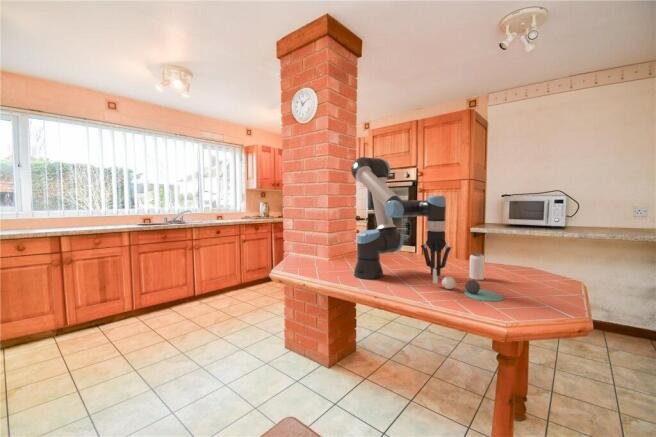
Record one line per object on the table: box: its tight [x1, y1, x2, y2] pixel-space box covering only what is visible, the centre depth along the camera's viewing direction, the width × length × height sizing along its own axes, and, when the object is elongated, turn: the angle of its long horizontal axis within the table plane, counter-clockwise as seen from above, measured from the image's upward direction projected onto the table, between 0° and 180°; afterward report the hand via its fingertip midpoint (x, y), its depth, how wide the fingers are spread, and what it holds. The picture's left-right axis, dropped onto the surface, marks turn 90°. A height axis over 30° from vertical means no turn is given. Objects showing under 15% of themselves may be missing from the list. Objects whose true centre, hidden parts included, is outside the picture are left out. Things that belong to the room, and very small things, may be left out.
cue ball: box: [441, 275, 456, 290], centre depth 119 cm, size 6×6×6 cm
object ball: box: [464, 279, 481, 294], centre depth 113 cm, size 6×6×6 cm
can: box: [469, 253, 486, 281], centre depth 134 cm, size 6×6×12 cm
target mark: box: [463, 289, 504, 303], centre depth 111 cm, size 14×14×1 cm
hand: (435, 282), depth 122 cm, fingers closed
